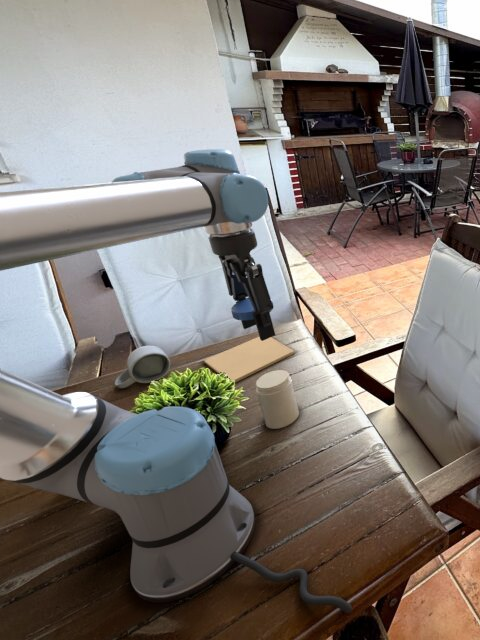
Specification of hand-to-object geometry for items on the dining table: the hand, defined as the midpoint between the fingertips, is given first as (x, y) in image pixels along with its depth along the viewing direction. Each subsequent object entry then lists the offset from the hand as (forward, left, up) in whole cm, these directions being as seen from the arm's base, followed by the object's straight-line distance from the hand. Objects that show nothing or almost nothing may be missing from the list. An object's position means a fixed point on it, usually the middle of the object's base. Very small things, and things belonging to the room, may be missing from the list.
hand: (259, 331), depth 86 cm
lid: (0, 0, +6) cm, 6 cm away
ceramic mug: (+37, +14, -19) cm, 44 cm away
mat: (+24, -5, -19) cm, 31 cm away
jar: (-6, +2, -19) cm, 20 cm away
